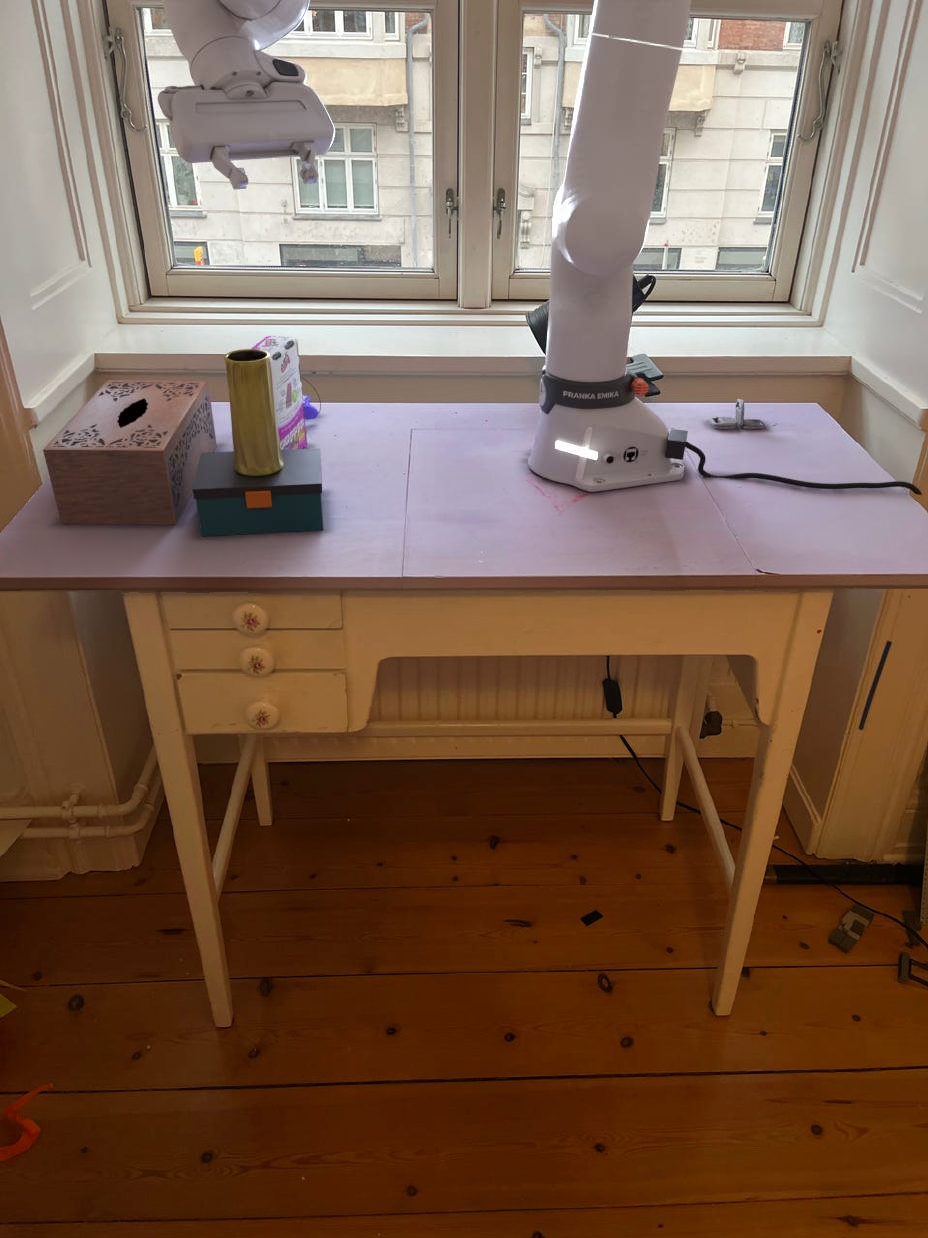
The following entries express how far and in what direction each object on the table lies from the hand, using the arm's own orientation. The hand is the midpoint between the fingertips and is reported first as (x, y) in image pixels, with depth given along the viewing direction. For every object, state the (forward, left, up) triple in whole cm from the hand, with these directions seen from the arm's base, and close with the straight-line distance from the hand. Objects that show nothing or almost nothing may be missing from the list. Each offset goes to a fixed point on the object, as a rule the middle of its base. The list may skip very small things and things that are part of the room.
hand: (277, 183), depth 113 cm
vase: (+5, +14, -31) cm, 35 cm away
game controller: (+2, -18, -38) cm, 42 cm away
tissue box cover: (+21, +3, -38) cm, 43 cm away
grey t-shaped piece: (-70, -10, -38) cm, 80 cm away
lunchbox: (+5, +14, -37) cm, 40 cm away
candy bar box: (+3, -4, -38) cm, 38 cm away
